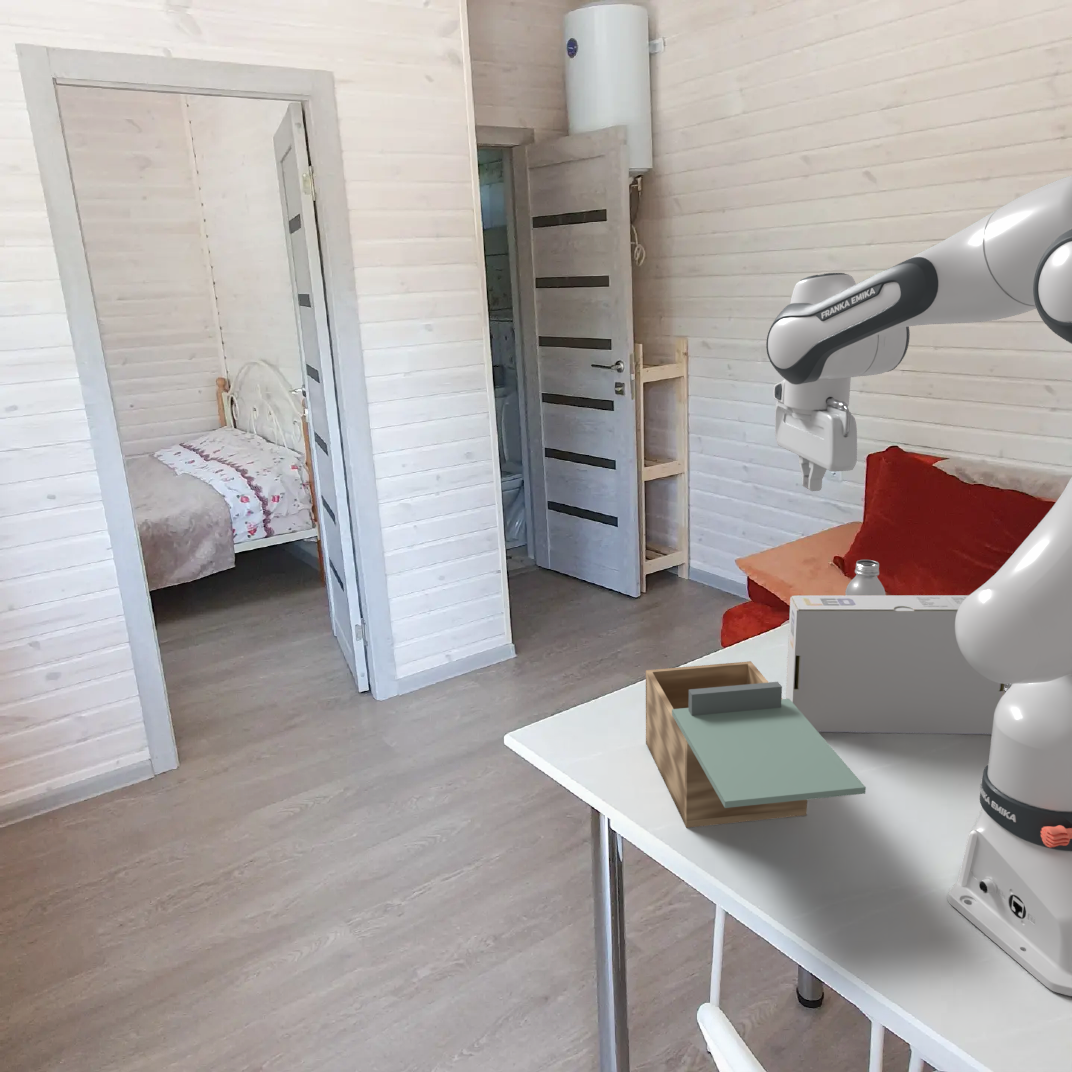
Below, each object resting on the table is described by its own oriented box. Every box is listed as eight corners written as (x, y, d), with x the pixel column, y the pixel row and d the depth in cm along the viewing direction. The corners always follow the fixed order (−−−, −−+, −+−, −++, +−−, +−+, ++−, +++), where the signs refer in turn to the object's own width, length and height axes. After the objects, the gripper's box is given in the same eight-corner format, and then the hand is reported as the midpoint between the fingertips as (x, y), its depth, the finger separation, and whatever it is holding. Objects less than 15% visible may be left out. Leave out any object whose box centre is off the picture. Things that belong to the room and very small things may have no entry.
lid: (865, 793, 101) (867, 763, 100) (724, 808, 100) (725, 777, 99) (788, 704, 122) (790, 677, 121) (671, 714, 121) (672, 688, 120)
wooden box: (806, 815, 119) (810, 732, 116) (686, 827, 117) (687, 743, 114) (748, 733, 140) (750, 661, 137) (645, 743, 138) (645, 670, 135)
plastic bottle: (855, 683, 155) (862, 571, 149) (832, 667, 161) (839, 559, 156) (888, 677, 157) (897, 566, 151) (864, 662, 163) (872, 555, 157)
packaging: (984, 716, 143) (997, 595, 137) (999, 735, 137) (1014, 610, 131) (785, 713, 146) (790, 595, 140) (791, 732, 140) (797, 609, 134)
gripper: (873, 402, 120) (865, 505, 124) (808, 383, 139) (804, 472, 143) (827, 405, 119) (820, 508, 123) (768, 385, 138) (765, 474, 142)
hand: (811, 488), depth 133 cm, fingers closed
